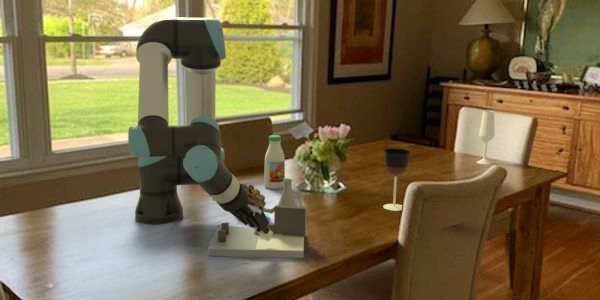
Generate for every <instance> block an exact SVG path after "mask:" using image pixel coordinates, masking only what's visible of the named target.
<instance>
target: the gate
mask: <svg viewBox="0 0 600 300" xmlns="http://www.w3.org/2000/svg"><path fill="white" fill-rule="evenodd" d="M273 208H274V216H273V217H274V219H273V220H274V222H273V223H272V222H269V224H268V228H269V229H270V230H271V231H272V232H273V233H278V234H291V235H304V237H305V236H306V235H307V234H306V233H307V232H306V231H307V207H305V206H297V207H294V206H279V205H278V204H277V205H276V204H275V205H274V206H273ZM256 232H257V231H256Z"/></svg>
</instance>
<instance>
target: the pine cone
mask: <svg viewBox="0 0 600 300" xmlns="http://www.w3.org/2000/svg"><path fill="white" fill-rule="evenodd" d="M240 184H241V185H242V186H243V187H244V188H245V189H246V191H247V198H248V200H249V201H250V202H251V203H252V204H253V206H254V207H256V208H257V207H259V206H261V207H262V208H263V212H264V213H269V214H273V213H274V207H272V208H267V207H266V204H267V202H266V201H265V200H266V196H264V194H261V190H259V189H258V188H255V186H254V185H252V184H249V185H248V184H246V183H240Z"/></svg>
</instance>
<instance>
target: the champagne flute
mask: <svg viewBox="0 0 600 300" xmlns="http://www.w3.org/2000/svg"><path fill="white" fill-rule="evenodd" d="M480 121H481V122H480V127H479V132H478V136H479V138H480V139H481V141H482V142H484V146H483V147H484V148H483V156H482V157H483V158H482V159H480V160H478V161H476V163H477V164H480V165H492V162H491V161H490V160H488V159H487V149H488V148H487V147H488V143H489V142H490V141H491V140H493V139H494V137H495V111H493V110H482V116H481V120H480Z"/></svg>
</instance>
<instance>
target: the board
mask: <svg viewBox="0 0 600 300" xmlns="http://www.w3.org/2000/svg"><path fill="white" fill-rule="evenodd" d="M304 246H305V236H304V235H291V234H278V233H273V234H272V236H271V238H270V240H269V241H266V240H264V239H263V238H262V237H261V236H260V235H259V234H258V232H256V230H255V229H254V228H251V227H250V226H230V223H229V222H227V221H226V222H225V221H224V222H222V223H221V226H220V225H219V226H217V227H216V229H215V231H214V234H213V237H212V238H211V241H210V243H209V245H208V248H207V256H208V257H240V258H241V257H243V258H245V257H246V258H251V257H252V258H281V259H282V258H285V259H286V258H287V259H295V258H296V259H303V258H304V254H305V253H304V252H305V251H304V250H305V247H304Z"/></svg>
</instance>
